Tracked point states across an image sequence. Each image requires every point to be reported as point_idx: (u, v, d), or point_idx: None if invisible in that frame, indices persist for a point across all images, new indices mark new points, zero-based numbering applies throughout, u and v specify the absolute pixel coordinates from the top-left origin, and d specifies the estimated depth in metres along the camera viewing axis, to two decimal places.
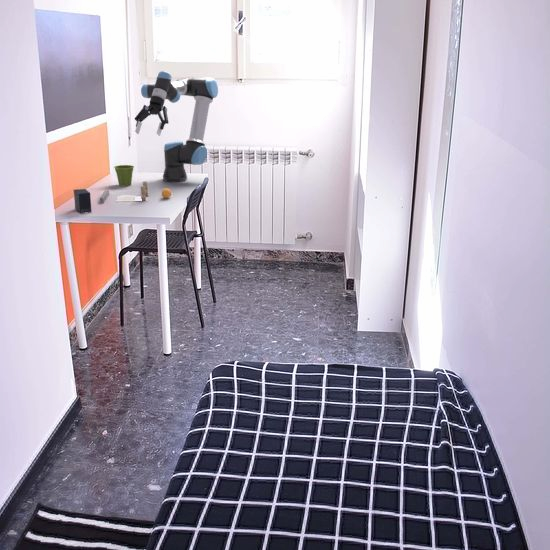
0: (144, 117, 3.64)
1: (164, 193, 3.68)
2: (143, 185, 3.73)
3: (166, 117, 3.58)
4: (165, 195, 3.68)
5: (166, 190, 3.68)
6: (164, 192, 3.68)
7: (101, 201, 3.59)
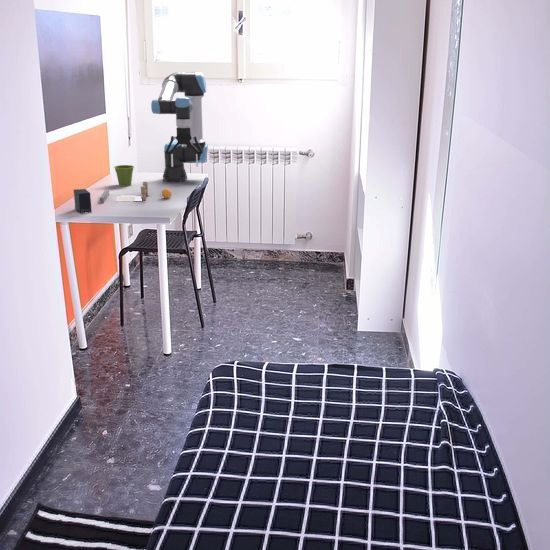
0: (174, 149, 3.63)
1: (164, 193, 3.68)
2: (143, 185, 3.73)
3: (200, 148, 3.63)
4: (165, 195, 3.68)
5: (166, 190, 3.68)
6: (164, 192, 3.68)
7: (101, 201, 3.59)
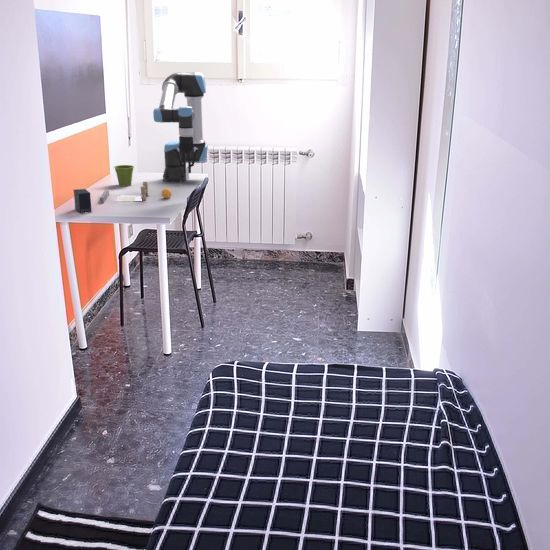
0: (185, 159, 3.65)
1: (164, 193, 3.68)
2: (143, 185, 3.73)
3: (194, 161, 3.65)
4: (165, 195, 3.68)
5: (166, 190, 3.68)
6: (164, 192, 3.68)
7: (101, 201, 3.59)
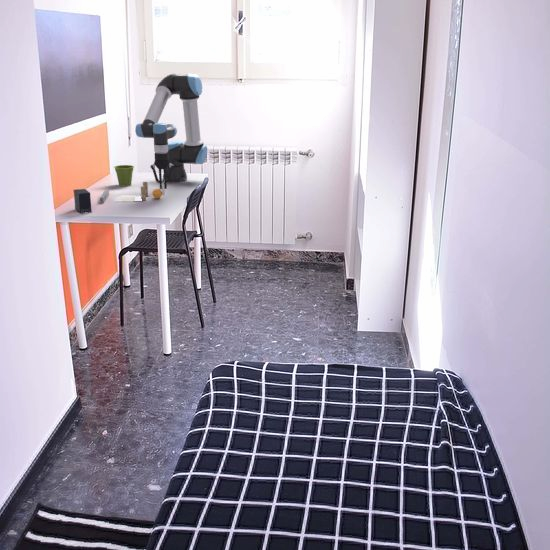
0: (161, 175, 3.67)
1: (155, 195, 3.68)
2: (143, 185, 3.73)
3: (170, 177, 3.67)
4: (157, 196, 3.68)
5: (153, 192, 3.68)
6: (154, 195, 3.68)
7: (101, 201, 3.59)
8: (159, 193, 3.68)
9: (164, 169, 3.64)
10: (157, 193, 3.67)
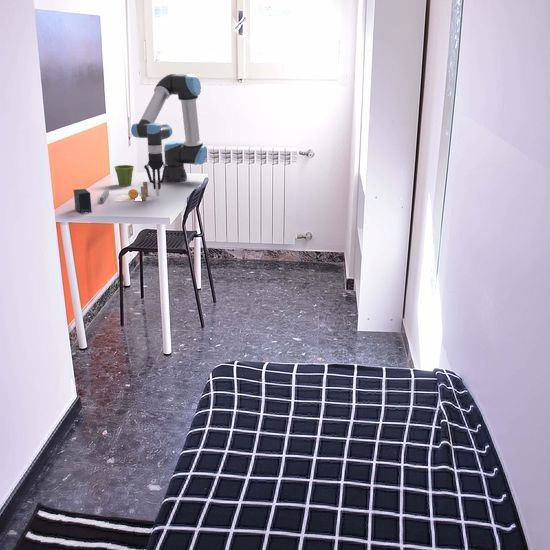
0: None
1: (131, 193, 3.66)
2: (143, 185, 3.73)
3: (164, 177, 3.67)
4: (131, 195, 3.67)
5: (134, 191, 3.67)
6: (132, 192, 3.66)
7: (101, 201, 3.59)
8: (133, 197, 3.67)
9: (158, 169, 3.64)
10: (133, 195, 3.67)
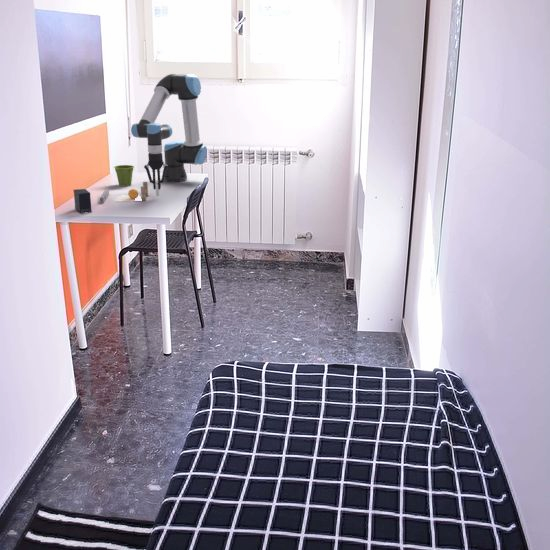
0: None
1: (131, 193, 3.66)
2: (143, 185, 3.73)
3: (164, 177, 3.67)
4: (131, 195, 3.67)
5: (134, 191, 3.67)
6: (132, 192, 3.66)
7: (101, 201, 3.59)
8: (133, 197, 3.67)
9: (158, 169, 3.64)
10: (133, 195, 3.67)
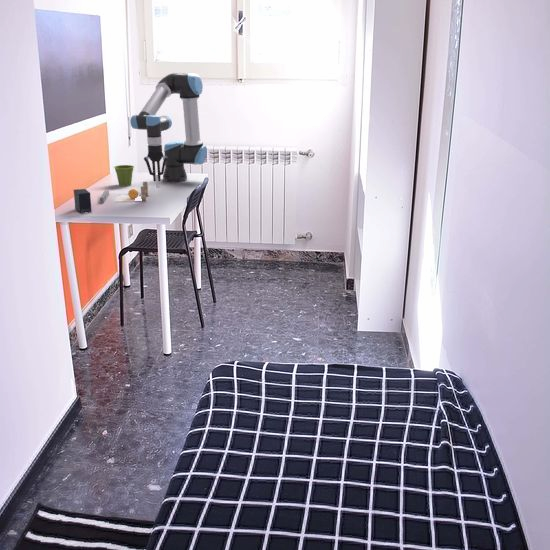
0: None
1: (131, 193, 3.66)
2: (143, 185, 3.73)
3: None
4: (131, 195, 3.67)
5: (134, 191, 3.67)
6: (132, 192, 3.66)
7: (101, 201, 3.59)
8: (133, 197, 3.67)
9: (157, 161, 3.63)
10: (133, 195, 3.67)
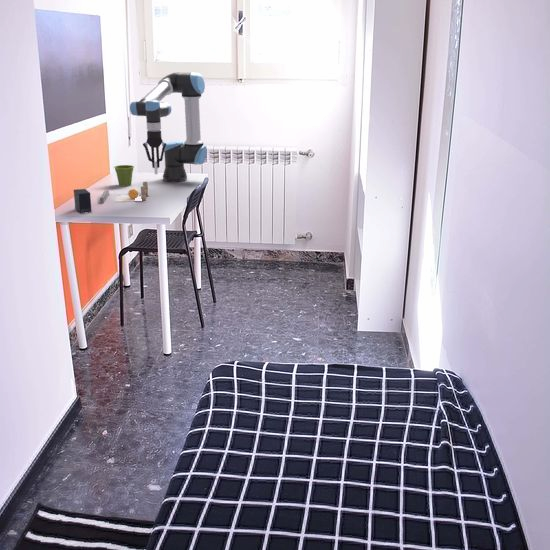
0: None
1: (131, 193, 3.66)
2: (143, 185, 3.73)
3: None
4: (131, 195, 3.67)
5: (134, 191, 3.67)
6: (132, 192, 3.66)
7: (101, 201, 3.59)
8: (133, 197, 3.67)
9: (157, 147, 3.60)
10: (133, 195, 3.67)
